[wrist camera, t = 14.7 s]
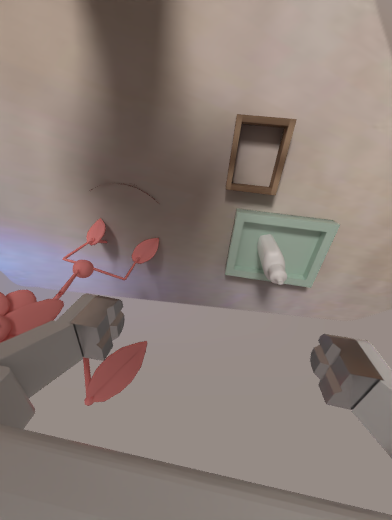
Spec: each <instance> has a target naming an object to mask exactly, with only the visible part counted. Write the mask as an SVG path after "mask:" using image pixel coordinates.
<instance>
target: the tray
mask: <svg viewBox="0 0 392 520" xmlns="http://www.w3.org/2000/svg"><path fill="white" fill-rule="evenodd" d="M339 226H340V224H338V223H336V222H335V221H333V220H326V219H318V218H310V217H302V216H294V215H286V214H278V213H269V212H261V211H253V210H245V209H236V214H235V220H234V225H233V230H232V235H231V241H230V246H229V251H228V257H227V262H226V267H225V275H230V276H237V277H243V278H250V279H257V280H263V281H270V280H268V279H267V277H266V276H265V274H264V271H263V268H262V264H261V261H260V258H259V255H258V250H257V243H258V239H259V237H260V236H261V235H267V234H271V235H272V236H273V237H274V239H275V241H276V243H277V245H278V247H279V249H280V251H281V253H282V255H283V257H284V260H285V271H286V274H287V279H286V280H285V282H283V284H290V285H296V286H303V287H309V288H311V287H312V284H313V282H314V280H315V278H316V276H317V274H318V271H319V269H320V267H321V265H322V263H323V261H324V259H325V256H326V254H327V252H328V250H329V248H330V246H331V243H332V241H333V239H334V237H335V235H336V233H337V231H338V228H339ZM270 282H271V281H270Z"/></svg>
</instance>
